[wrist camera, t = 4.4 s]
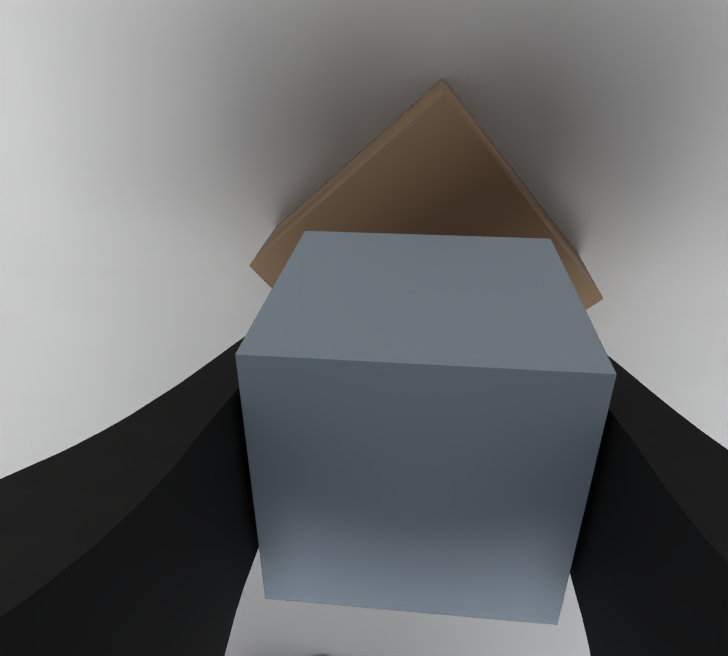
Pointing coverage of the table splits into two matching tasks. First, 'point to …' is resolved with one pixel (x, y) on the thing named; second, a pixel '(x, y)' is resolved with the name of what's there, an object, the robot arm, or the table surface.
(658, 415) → the robot arm
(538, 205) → the plinth
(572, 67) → the table surface
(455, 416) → the cube
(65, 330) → the table surface
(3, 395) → the table surface
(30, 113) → the table surface
